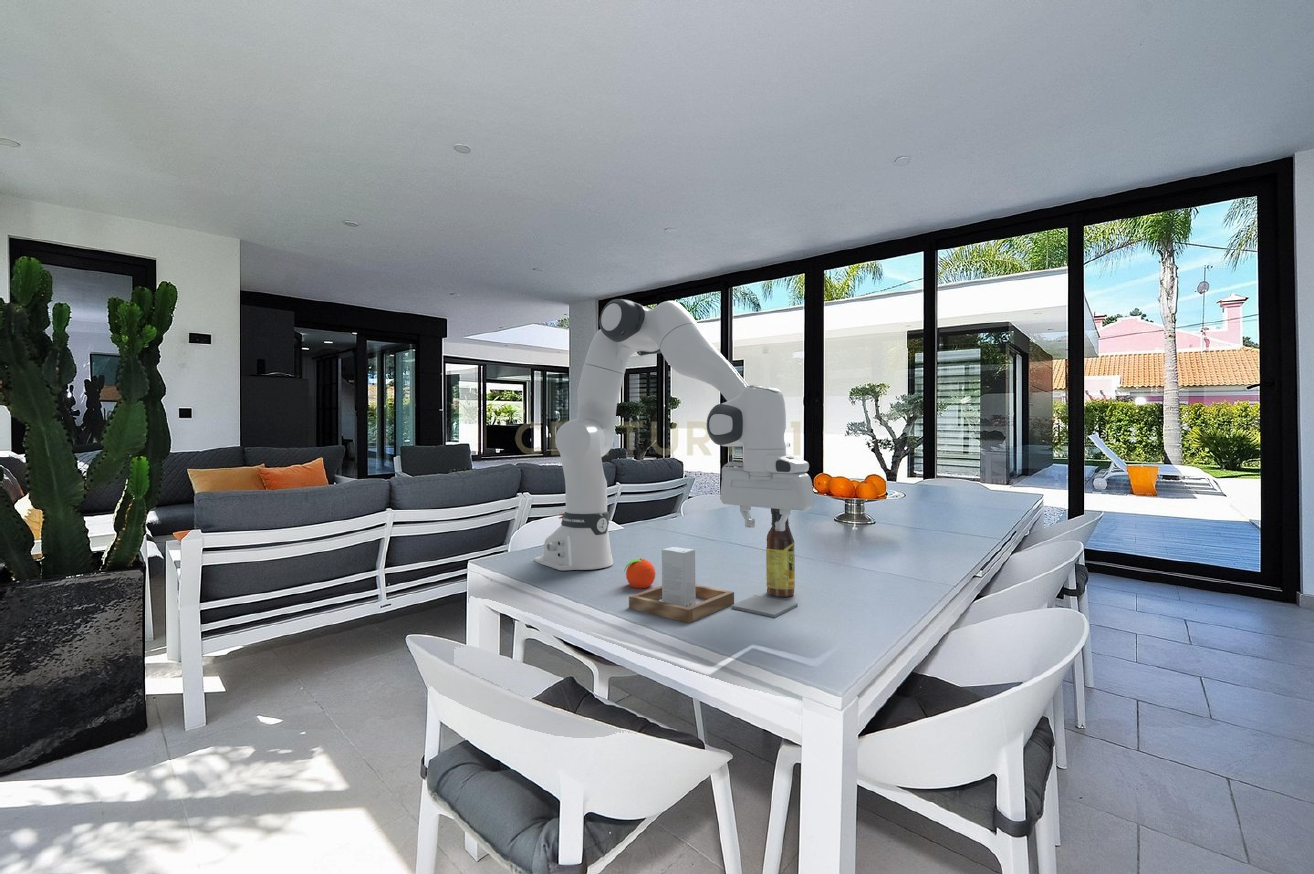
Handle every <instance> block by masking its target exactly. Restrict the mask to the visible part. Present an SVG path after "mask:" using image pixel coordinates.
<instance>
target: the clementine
mask: <svg viewBox="0 0 1314 874" xmlns="http://www.w3.org/2000/svg"><path fill="white" fill-rule="evenodd" d="M625 571H626V572H625ZM623 572H625V577H626V578H625V579H626V580H627V582H628V585H630V586H631V587H632V588H634V589H647V588H649V587H650V586H651V585H653V583H654V582H655V578H656V569H655V567H654V565H653V564H652V563H651V562H650V560H647V559H643V558H639V559H634V560H631V561H630V562H628V563H627V565H625V568H624V571H623Z"/></svg>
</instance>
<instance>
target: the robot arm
mask: <svg viewBox="0 0 1314 874" xmlns="http://www.w3.org/2000/svg"><path fill="white" fill-rule="evenodd" d="M598 324H599V328H600V329H598V330H597V331H596V333H595V334H594V335H593V338H592V341H591V342H590V344H589V348H588V350H587V353H586V356H585V359H584V364H583V367H582V370H581V374H580V379H579V383H578V386H577V391H576V397H577V415H576V418H572V419H570V420H568V421H566V422H565V423H563V424H562V425H560V427H559V428H558V429H557V431H556V434H555V439H554V442H555V447H556V448H557V449H556V450H558V452H559V455H560V461H561V465H562V470H563V476H564V484H565V485H564V486H565V512H564V513H560V514H558V516H559V517H558V519H559V520H560V519H561V523H560V526H559V527H558V528H557V529H556V530H554V531H553V533H551V534H550V535H549V536H548V537H546V539H545V540H544V544H543V550H542V551H543V553H542V555H541V554H540V555H539V556H536V557H535V558H534V562H535V563H538V564H541V565H544V566H547V567H550V568H551V569H555V570H558V571H574V570H575V571H579V570H580V571H583V570H585V571H586V570H589V571H590V570H597V569H603V568H604V569H605V568H608V567H611V566H613V565H614V560H613V554H612V550H611V543H610V542H611V541H610V534H609V533H610V532H609V529H608V528H609V524H610V512H609V511H608V481H607V479H606V476H605V472H604V466H603V460H602V458H603V457H605V455H607V454H608V453H609V452H610V450H611V449H612V448H613V445H614V441H615V437H614V436H615V435H614V432H615V427H616V426H615V425H616V415H617V406H618V401H619V398H620V397H619V396H620V394H621V389H622V385H623V381H624V377H625V373H626V369H627V366H628V361H629V359H630V357H631V356H632V355H633V354H635V353H636V354H637V355H638V356H640V357H642V356H646V355H647V356H648V355H656V354H662V356H663V358H664V359H665V361H666V362H667V364H668V365H669V366H670V367H671V368H672V369H673V370H674V371H675V373H678V374H679V375H681V376H685V377H689V378H691V379H695V380H698V381H701V382H704V383H706V384H709V385H710V386H712V387H714V388H715V389H716V390H717V391H719V393H721V395H722V396H723V398H724V399H725V400H726V401H725V402H722V403H718V404H716V405H714V406H713V407H712V408H711V409H710V411H709V413H708V414H707V419H706V430H707V431H706V432H707V435H708V436H709V438H710V440H711V442H713V443H714V444H715V445H718V446H721V447H735V448H737V447H738V448H739V447H742V461H739V462H734V461H728V462H727V463H725V464H724V465H723V466H722V468H721V485H720V491H719V492H720V495H719V497H720V501H721V503H722V504H723V505H726V506H727V505H728V506H739V512H740V513H741V516H742V517H743V520H744V527H745V528H749V529H753V528H755V527H756V518H752V516H751V513H750V512H749V511H751V507H752V508H753V507H754V508H764V509H771V508H775V509H780V514H782V516H781V518H780V520H779V521H778V522H775V526H776V527H775V530H776V531H785V522H786V521H787V519H788V520H789V517H790V515H791V511H800V512H801V511H808V510H810V509H812V506H813V505H814V489H813V482H812V479H811V476H810V475H809V474H808V473H807V472H808V471H809V470H810V469H809V468H810V464H809V462H808V461H806V460H804V459H800V458H798V457H795V456H792V455H790V454H787V445H786V443H785V433H786V429H787V418H786V417H787V415H786V414H787V413H786V402H785V399H784V395H783V392H782V391H781V390H780V389H779V388H778V387H777V388H776V387H773V386H767V385H757V384H756V385H755V384H752V385H751V384H750V385H749V384H748V383H747V381H746V380H745V379H744V377H743V376H741V374H740V373H739V371H738V370H737V369H736V368H735V366H734V365H732V363H731V362H730V361H729V360H728V359H727V358H726V357H725V356H724V355H723V354H722V352H720V351H719V350H718V349H717V348H716V346H715V345H714V344H713V343H712V342H711V340H710V339H709V338H708V336H707V335H706V333H704V331H703V330H702V328H701V327H700V325H699V324H698V322H697V321H696V319H695V318H694V317H693V316H692V315H691V313H690V312H689V311H688V310H687V309H686V308H685V307H684V306H683V305H682V304H681V303H679V302H678V301H674V300H667V301H663V302H660V303H659V304H657V305H656V306H655V307H654V308H650V307H648V306H643V305H642V304H641V303H637V302H635V301H632V300H629V299H623V298H620V299H619V298H615V299H612V300H610V301H609V302H607V303H606V304H605V305H604V307H603V308H602V310H601V312H600V316H599V323H598Z"/></svg>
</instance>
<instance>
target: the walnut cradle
mask: <svg viewBox="0 0 1314 874" xmlns="http://www.w3.org/2000/svg"><path fill="white" fill-rule="evenodd" d="M695 588H696V596H697V598H701V599H704V600H703V601H701V602H698V603H696V604H695V605H693V606H690V607H683V606H679V605H674V604H670V603H665V602H662V600H661V601H660V599H662V585H660V586H657V587H653V588H651V589H650V588H649V589H648V590H644V591H641V592H638V593H635V594H632V595H629V596H628V608H629V609H633V610H636V611H638V612H639V611H641V612H644V613H647V614H651V615H653V616H659V617H663V618H667V619H672V620H675V621H679V622H684V623H687V624H691V623H692V622H695V621H697V620H699V619H702V618H704V617H707V616H709V615H711V614H713V613H716V612H718V611H720V610H723V609H725V608H728V607H730V606H731V605H734V604H735V591H731V590H726V589H720V588H715V587H710V586H705V585H700V584H695Z"/></svg>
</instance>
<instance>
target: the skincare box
mask: <svg viewBox="0 0 1314 874" xmlns="http://www.w3.org/2000/svg"><path fill="white" fill-rule="evenodd" d="M661 571H662V572H661V586H662V598H661V602H665V603H670V604H674V605H679V606H683V607H690V606H693V605H695V604H697V603H696V602H697V601H696V588H695V585H696V549H694V548H693V549H692V548H685V547H678V546H677V547H676V546H671V547H668V548H662V549H661Z"/></svg>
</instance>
